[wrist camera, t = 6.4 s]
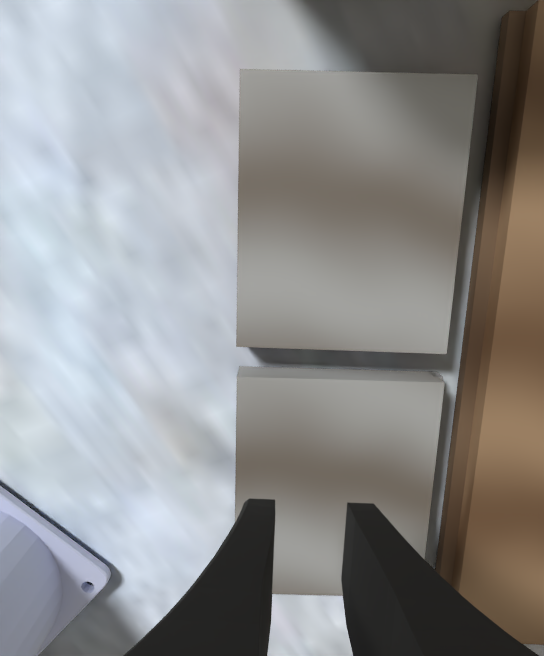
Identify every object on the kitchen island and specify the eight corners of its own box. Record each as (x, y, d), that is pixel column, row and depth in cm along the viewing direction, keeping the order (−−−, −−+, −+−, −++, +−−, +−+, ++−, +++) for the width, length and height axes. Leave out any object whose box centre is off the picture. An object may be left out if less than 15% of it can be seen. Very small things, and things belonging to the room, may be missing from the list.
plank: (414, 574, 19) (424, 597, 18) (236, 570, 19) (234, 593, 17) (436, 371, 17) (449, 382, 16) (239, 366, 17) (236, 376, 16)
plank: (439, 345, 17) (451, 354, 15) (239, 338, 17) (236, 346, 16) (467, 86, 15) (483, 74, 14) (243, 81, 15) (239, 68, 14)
